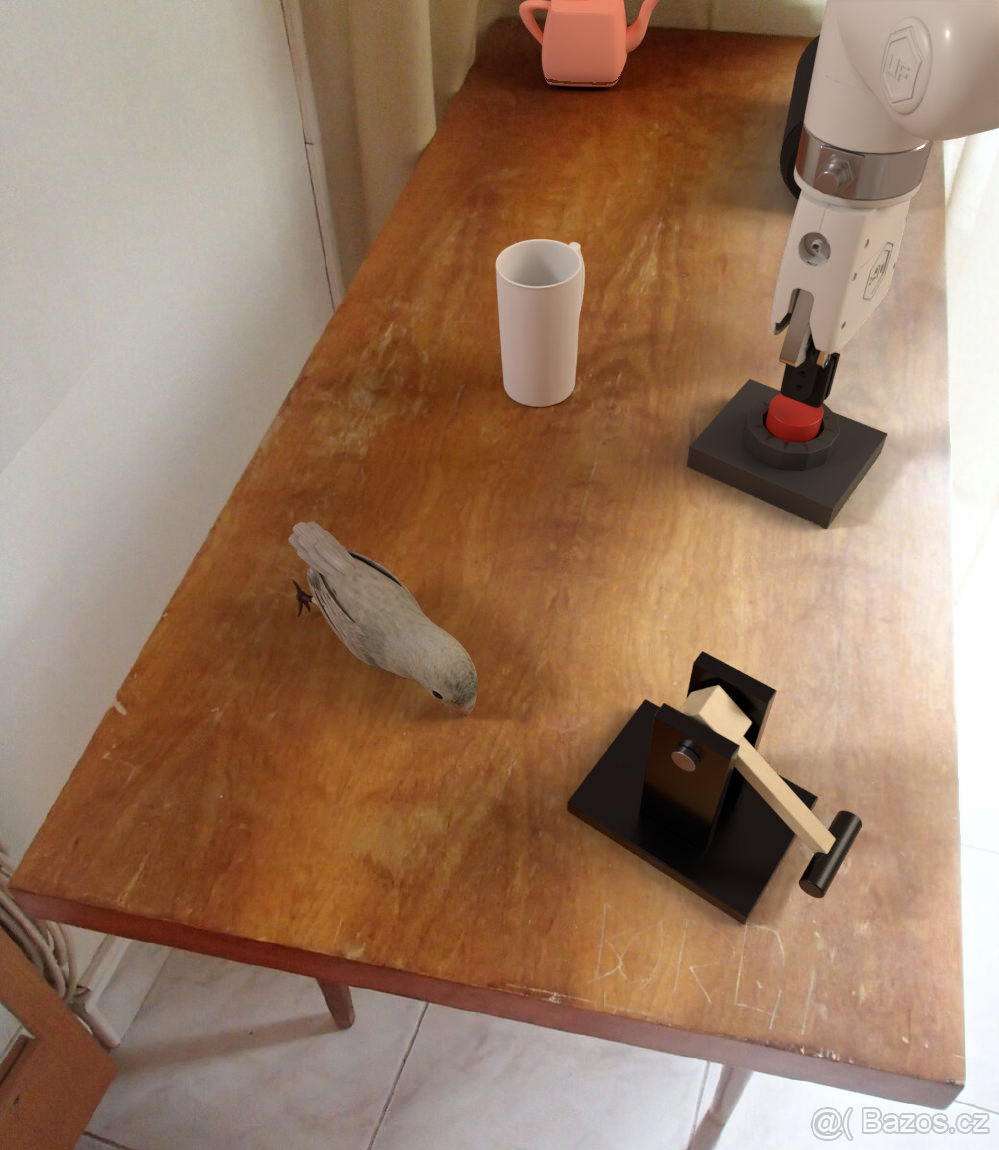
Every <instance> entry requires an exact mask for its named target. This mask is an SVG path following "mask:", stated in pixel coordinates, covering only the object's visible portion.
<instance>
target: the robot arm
mask: <svg viewBox="0 0 999 1150" xmlns="http://www.w3.org/2000/svg"><path fill="white" fill-rule="evenodd" d="M819 35H820V38H819V43H818V48H817V53H816V58H815V64H814V69H813V74H812V80H811V85H810V90H809V96H808V101H807V106H806V112H805V118H804V122H803V127H802V132H801V138H800V143H799V148H798V154H797V159H796V165H795V169H794V179H795V181H796V183H797V185H798V186H799V187H800V188H801V189H802V190H801V193H800V197H799V200H797V204H796V207H795V210H794V214H793V217H792V220H791V224H790V228H789V232H788V235H787V239H786V243H785V246H784V250H783V255H782V258H781V263H780V265H779V266H780V267H779V271H778V275H777V279H776V285H775V289H774V293H773V299H772V305H771V311H770V322H769V326H770V330H771V332H772V334H773V335H774V336H778V335H781V334H782V332H783V331H784V330H785V329H786V328H787V331H786V334H785V337H784V340H783V343H782V347H781V350H780V354H779V358H778V362H780V363H783V364H785V367H784V371H783V376H782V381H781V385H780V390H779V391H780V392H781V394H782V395H783V396H785V397H788V398H790V399H793V400H795V401H798V402H801V403H803V404H806V405H808V406H811V407H814V408H819V407H820V406H821V405H822V404H823V403H825V401H826V400H827V399H828V398H829V396H830V395H831V391H832V388H833V384H834V380H835V376H836V372H837V369H838V365H839V362H840V358H841V353H839V351H840V350H842V349H843V348H844V347H845V346H846V345H847V344H848V342H849V341H850V340H851V339H852V338H853V337H854V336H855V335H856V333H857V332H859V330H860V328H862V327H863V325H864V324H865V323H866V322H867V320H868V319H869V318H870V316H871V315H872V314H873V313H874V311H875V310H876V309H877V308H878V306H879V305H880V304H881V303H882V301H883V300H884V298H885V297H886V295H887V294H888V291H889V289H890V287H891V284H892V280H893V277H894V273H895V269H896V266H897V265H896V264H897V261H898V257H899V252H900V249H901V243H902V240H903V235H904V231H905V227H906V223H907V218H908V214H909V210H910V205H911V201H912V200H911V199H912V198H915V196H916V194H918V193H919V191H920V189H921V186H922V183H923V178H924V175H925V171H926V169H927V165H928V162H929V160H930V159H929V158H930V156H931V155H930V154H931V152H932V148H933V145H934V142H943V141H951V140H957V139H962V138H966V137H970V136H974V135H978V134H981V133H986V132H989V131H993V130H997V129H999V0H826V1H825V7H824V12H823V18H822V23H821V27H820V33H819Z"/></svg>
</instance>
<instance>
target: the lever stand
mask: <svg viewBox="0 0 999 1150" xmlns="http://www.w3.org/2000/svg"><path fill="white" fill-rule="evenodd" d="M688 683H689V684H688V688H687V693H686V697H685V700H686V699H687V698H688V696H689V695H690V693H691V692H694V691H698V690H702V689H705V688H709V687H713V686H716V685H719V686H720V687H721V688H722V689H723V690H724V691H725V693H726V694H727V695H728V696H729V697H730V698H731V699H732V700H733V701H734V703H735V704H736V705H737V706H738V707H739V708H740V709H741V710H742V711H743V713H744V714H745V715H746V716H747V717H748V718H749V719H750V720H751V722H752V724H751V725H750V727H749V728H748V730H747V731H746V733H745V734H744V736H743V737H744V738H745V739H746V740H747V741H748V742H749V743H750V744H751V745H752V747H753V748H754V749H755V750H756V751H757V752H758V750H759V747H760V744H761V741H762V738H763V736H764V732H765V729H766V726H767V722H768V720H769V717H770V713H771V711H772V707H773V704H774V701H775V697H776V695H777V692H778V691H777V689H775V688H773V687H772V686H769V685H767V684H765V683H764V682H762V681H760V680H759V679H756V678H754V677H753V676H751V675H749V674H747V673H745V672H743V671H742V670H739V669H738V668H735V667H734V666H732V665H730V664H728V663H726V662H724V661H722V660H721V659H718V658H716V656H713V655H711V654H709V653H708V652H705V651H703V650H702V651H701V652H700V653H699V654H698V656H697V657H696V658H695V660H694V661H693V663H692V667H691V673H690V677H689V682H688ZM678 710H679V709H676V708H674V707H673V706H671V705H670V704H667V703H666V702H663V703H662V704H661V706H660V705H657V704H655V703H654V702H652V701H650V700H648V699H644V700H643V701H642V702H641V703H640V705H639V706H638V708H637V709H636V710H635V712H633V715H631V717H630V718H629V719H628V721H627V722H626V723H625V725H624V726H623V727H622V729H621V730H620V732H619V733H618V734H617V735H616V736H615V738H614V740H612V742H611V743H610V745H609V746H608V747H607V749H605V751H604V752H603V754H602V755H601V756H600V758H599V759H598V761H597V762H596V763H595V764H594V766H593V767H592V768H591V770H590V771H589V773H587V775H586V776H585V777H584V779H583V780H582V782H581V783H580V785H578V787H577V788H576V789H575V791H574V792H573V794H572V795H571V796H570V797H569V799H568V800H567V801H566V811H567V812H568V813H570V814H571V815H573V816H574V817H575V818H577V819H579V820H581V821H582V822H584V823H585V824H587V825H588V826H589V827H592V828H593V829H594V830H596V831H598V832H599V833H601V834H602V835H603V836H605V837H607V838H608V839H609V840H612V841H613V842H614V843H616V844H618V845H619V846H621V847H622V848H624V849H625V850H627V851H628V852H630V853H631V854H633V855H635V856H636V857H638V858H639V859H641V860H643V861H644V862H646V863H647V864H649V865H651V867H653V868H655V869H657V870H658V871H659V872H661V873H663V874H664V875H666V876H667V877H668V878H670V879H672V880H674V881H675V882H676V883H678V884H679V885H681V886H683V887H684V888H686V889H687V890H689V891H691V892H692V893H694V894H695V895H697V896H698V897H700V898H701V899H703V900H704V901H706V902H707V903H709V904H710V905H712V906H714V907H715V908H717V909H718V910H720V911H722V912H723V913H724V914H726V915H727V916H729V917H731V918H732V919H734V920H735V921H737V922H738V923H740V924H742V925H743V926H745V925H746V924H747V923H748V921H749V919H750V918H751V916H752V914H753V912H754V910H755V909H756V907H758V906H757V905H758V904H759V902H760V900H761V899H762V897H763V895H764V894H765V892H766V891H767V889H768V887H769V885H770V884H771V882H772V880H773V878H774V877H775V875H776V873H777V871H778V870H779V868H780V867H781V865H782V863H783V861H784V860H785V858H786V856H787V855H788V853H789V852H790V850H791V848H792V847H793V844H794V843H795V841H796V839H797V838H798V836H797V835H796V834H795V833H794V832H793V830H792V829H791V828H790V827H789V826H788V825H787V824H786V823H785V822H784V821H783V819H782V818H781V817H780V816H779V815H778V814H777V813H776V812H775V811H774V809H773V808H772V807H771V806H770V805H769V804H768V803H767V802H766V801H765V800H764V798H763V797H762V796H761V795H760V794H759V793H758V792H757V791H756V790H755V789H754V787H753V786H752V785H751V784H750V783H749V782H748V781H747V780H746V779H745V778H744V776H743V775H742V774H741V773H740V772H739V771H738V770H737V769H736V768H735V766H734V765H735V762H736V758H737V755H738V751H739V748H740V746H739V745H738V744H736V743H735V742H733V741H731V740H729V739H727V738H726V737H724V736H722V735H720V734H719V733H717V732H715V731H713V730H712V729H710V728H708V727H706V726H704V725H703V724H701V723H699V722H697V721H696V720H694V719H692V718H690V717H689V716H687V715H685V714H683V713H681V712H680V711H678ZM777 774H778V773H777ZM778 775H779V777H780V778H781V779H782V780H783V781H784V782H785V783H786V784H787V785H788V787H789V788H790V789H791V790H792V791H793V792H794V793H795V794H796V795H797V797H798V798H799V799H800V800H801V801H802V802H803V803H804V804H805V805H806V807H807V808H808V809H809V810H810V811H811V812H812V813H813V810H814V808H815V807H816V804H817V803H818V800H819V797H818V796H817V795H815V794H813V793H812V792H810V791H808V790H807V789H805V788H803V787H802V786H800V785H798V784H796V783H794V782H793V781H791V780H789V779H787V778H786V777H784V776H782V775H781V774H778Z"/></svg>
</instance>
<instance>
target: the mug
mask: <svg viewBox="0 0 999 1150" xmlns="http://www.w3.org/2000/svg"><path fill="white" fill-rule="evenodd" d="M585 269H586V267H585V262H584V258H583V254H582V251H581V243H579V242H576V241H571V242H569V244H567V243H566V242H562V241H559V240H554V239H547V238H536V239H528V240H522V241H519V242H516V243H514V244H511V245H509V246H508V247H506V248H505V249H503V250H502V251H501V252H500V253H499V254H498V256H497V258H496V260H495V276H496V278H495V279H496V292H497V293H496V295H497V309H498V324H499V325H498V327H499V341H500V353H501V354H500V355H501V357H500V358H501V366H502V367H501V368H502V379H503V381H502V383H503V388H504V391H505V393H506V395H507V396H508V397H509V398H511V399H512V400H513V401H514V402H516V403H518V404H521V405H524V406H528V407H535V408H542V407H543V408H544V407H551V406H554V405H557V404H559V403H561V402H563V401H565V400H566V399H567V398H568V397H570V396H571V395H572V393H573V391H574V389H575V386H576V375H577V364H578V362H577V361H578V347H579V327H580V316H581V311H582V306H583V299H584V293H585V283H586V282H585V281H586V270H585Z"/></svg>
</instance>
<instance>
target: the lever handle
mask: <svg viewBox="0 0 999 1150" xmlns="http://www.w3.org/2000/svg"><path fill="white" fill-rule="evenodd" d="M677 710H678V711H680V712H681V713H683V714H685V715H687V716H689V717H690V718H692V719H694V720H696V721H697V722H699V723H701V724H703V725H704V726H706V727H708V728H710V729H712V730H713V731H715V732H717V733H719V734H720V735H722V736H724V737H726V738H727V739H729V740H731V741H733V742H735V743H736V744H738V745H739V746H740V748H739V751H738V755H737V758H736V762H735V765H734V766H735V768H736V769H737V770H738V771H739V772H740V773H741V774H742V775H743V776H744V778H745V779H746V780H747V781H748V782H749V783H750V784H751V785H752V786H753V787H754V789H755V790H756V791H757V792H758V793H759V794H760V795H761V796H762V797H763V798H764V800H765V801H766V802H767V803H768V804H769V805H770V806H771V807H772V808H773V809H774V811H775V812H776V813H777V814H778V815H779V816H780V817H781V818H782V819H783V821H784V822H785V823H786V824H787V825H788V826H789V827H790V828H791V829H792V830H793V832H794V833H795V834H796V835H797V838H799V840H800V841H802V843H803V844H804V845H805V847H807V848H808V849H809V851H811V853H812V854H813V855H812V857H811V859H810V860H809V862H808V864H807V866H805V869H804V871H803V872H802V874H801V876H800V878H799V880H798V887H799V888H800V889H801V890H802V892H804V893H805V894H806V895H808V896H810V897H812V898H814V899H823V898H824V897H825V896H826V894H827V892H828V890H829V888H830V887H831V885H832V883H833V881H834V879H835V877H836V875H837V874H838V872H839V871H840V869H841V866H842V865H843V863H844V861H845V859H846V858H847V856H848V854H849V852H850V850H851V848H852V847H853V845H854V843H855V841H856V839H857V837H858V835H859V833H860V832H861V830H862V828H863V821H862V819H861V818H860V817H859V816H858V815H857V814H855V813H853V812H852V811H850V810H846V809H841V810H839V811H838V812H837V813H836V814H835V816H834V818H833V820H832V821H831V824H830V825H829V826H828V828H826V826H825V825H824V824H823V823H822V822H821V821H820V820H819V818H817V816H816V815H815V814H814V813H813V811H812V812H811V811H810V810H809V809H808V808H807V807H806V805H805V804H804V803H803V802H802V801H801V800H800V799H799V798H798V797H797V795H796V794H795V793H794V792H793V791H792V790H791V789H790V788H789V787H788V785H787V784H786V783H785V782H784V781H783V780H782V779H781V778H780V777H779V775H780V774H779V775H778V772H776V771H775V770H774V769H773V767H772V766H771V765H770V764H769V763H768V762H767V760H765V759H764V757H763V756H762V755H761V754H760V753H759V752H758V750H757V751H756V750H755V749H754V748H753V747H752V745H751V744H750V743H749V742H748V741H747V740H746V739H745V738H744V737H743V736H744V734H745V733H746V731H747V730H748V728H749V727H750V725H751V724H752V722H751V720H750V719H749V718H748V717H747V716H746V715H745V714H744V713H743V711H742V710H741V709H740V708H739V707H738V706H737V705H736V704H735V703H734V701H733V700H732V699H731V698H730V697H729V696H728V695H727V694H726V693H725V691H724V690H723V689H722V688H721V687H720V686H719V685H716V686H713V687H709V688H705V689H702V690H698V691H694V692H691V693H690V695H689V696H688V698H687V699H686V698H685V700H684V701H683V703H682V704H681V706H680V707H679V708H678V709H677Z"/></svg>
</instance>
